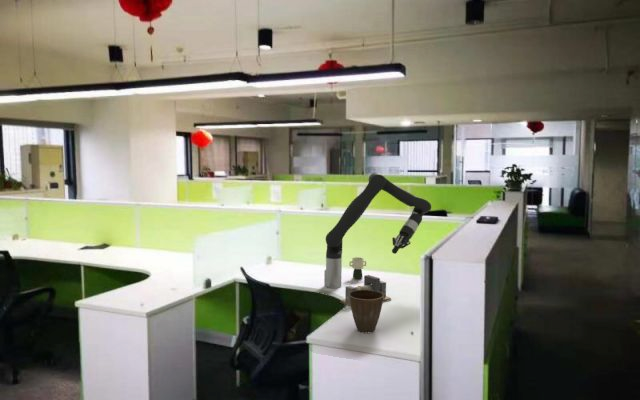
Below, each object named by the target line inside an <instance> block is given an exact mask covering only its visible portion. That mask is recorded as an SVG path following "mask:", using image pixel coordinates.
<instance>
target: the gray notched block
mask: <svg viewBox="0 0 640 400" xmlns="http://www.w3.org/2000/svg"><path fill="white" fill-rule="evenodd" d="M363 280H364V281H363V286H365V285H370V284H373V290H372V291H378V292H380V281H381V278H380V277H376V276H373V275H370V274H367V275H366V274H365V275H364V277H363Z"/></svg>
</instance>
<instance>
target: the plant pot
mask: <svg viewBox="0 0 640 400" xmlns="http://www.w3.org/2000/svg"><path fill="white" fill-rule="evenodd" d="M349 297H350V305H351V306H350V310H351V313H352V318H353V322H354V324H355V327H356V329H357V332H359V331H360V333H362V332H367V333H366V334H369V333H368V332H372V333H374V332H375V330H376V327H377V324H378V322H379V319H380V315H381V312H382V307H383V303H384V302H383V297H384V295H383V294H382V293H380V292H378V291H372V290H357V291H353V292H351V293H349Z"/></svg>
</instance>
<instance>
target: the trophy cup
mask: <svg viewBox="0 0 640 400" xmlns="http://www.w3.org/2000/svg"><path fill="white" fill-rule="evenodd" d="M366 266H367V261H366V260H365V259H364V257H359V256H358V257H357V256H355V257H352V261H351V260H350V261H349V267H352V268H353V273H352V278H353V279H355V280H360V279H364V277H363V269H364V267H366Z"/></svg>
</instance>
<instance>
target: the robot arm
mask: <svg viewBox="0 0 640 400" xmlns="http://www.w3.org/2000/svg"><path fill="white" fill-rule="evenodd" d="M381 191H383V192H386V193H387V194H389V195H391V196H392V197H394V198H395V199H396V200H397V201H399V202H401V203H402V204H404V205H406V206H408V207H410V208H411V207H414V208H413V210H412V212H411V214H410V216H409V217H408V219H407V220H406V221H405V222H404V224H403V225H402V227H401V228H400V230H399V233H398V235H396V237H392V246H394V247H393V248H392V250H391V253H392V254H397V253H398V252H399V250H400V249H404V248H405V247H408V246H409V245H411V241H410V240H411V239H412V238H413V237H414V235H415V233H416V231H417V229H418V227H419V226H420V225H421V223H422V220H423V216H424V215H425V214H427V213H428V212H430V211H431V210H432V204H431V203H430V202H429V201H428V200H427V199H425V198H423V197H419V196H416V195H414V194H412V193H411V192H409V191H408V190H406V189H404V188H402V187H400V186H398V185H397V184H394V183H393V182H391V181H390V180H388V179H387V178H386V177H385V176H384V175H383V174H382V173H381V172H373V173H371V174H370V175H369V176H368V183H367V184H366V186H365V188H364V189H363V191H362V192H361V193H360V194H359V195H357V196H356V197H355V198H354V199H352V200H351V202H350V204H348V206H347V208H346V209H345V210H344V212H343V214H342V216H341V217H340V218H339V220H338V222H337V223H336V225H334V227H333V228H331V230H330V231H329V232H327V234H326V236H325V243H326V252H325V270H324V282H323V283H324V287H326V288H329V289H330V288H331V289H338V288H341V287H342V262H343V239H344V237H345V235H346V234H347V233H348V231H349V230H350V229H351V228H352V227H353V226H354V225H355V224H356V222H357V221H358V220H360V218H361V217H362V215H364V213H365V211H366V210H367V209H368V207H369V206H370V204H371V202H372V201H373V199H374V198H375V197H376V196H377V195H378V194H379V193H380V192H381Z"/></svg>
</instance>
